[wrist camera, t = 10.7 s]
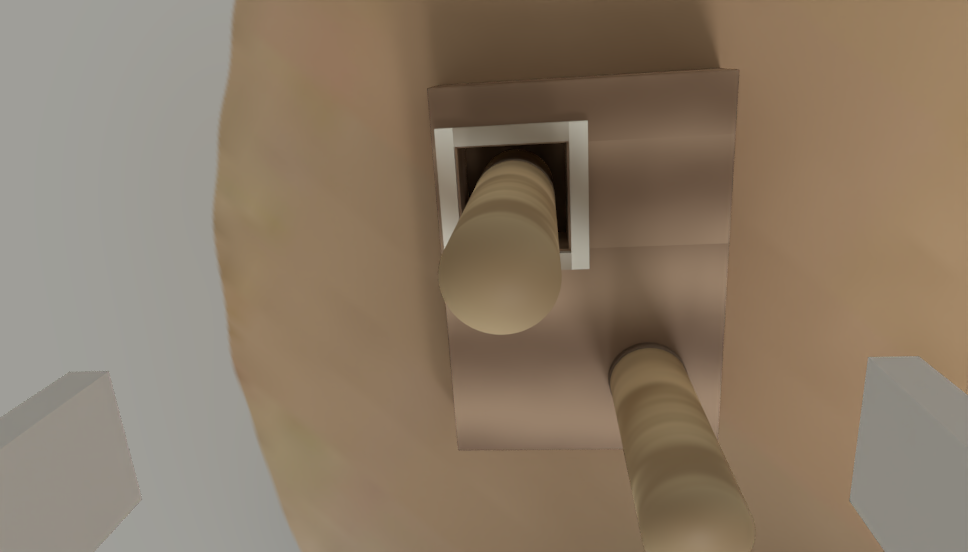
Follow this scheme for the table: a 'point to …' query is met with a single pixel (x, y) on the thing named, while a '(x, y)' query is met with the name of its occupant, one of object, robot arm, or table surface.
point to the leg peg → (505, 248)
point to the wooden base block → (613, 288)
